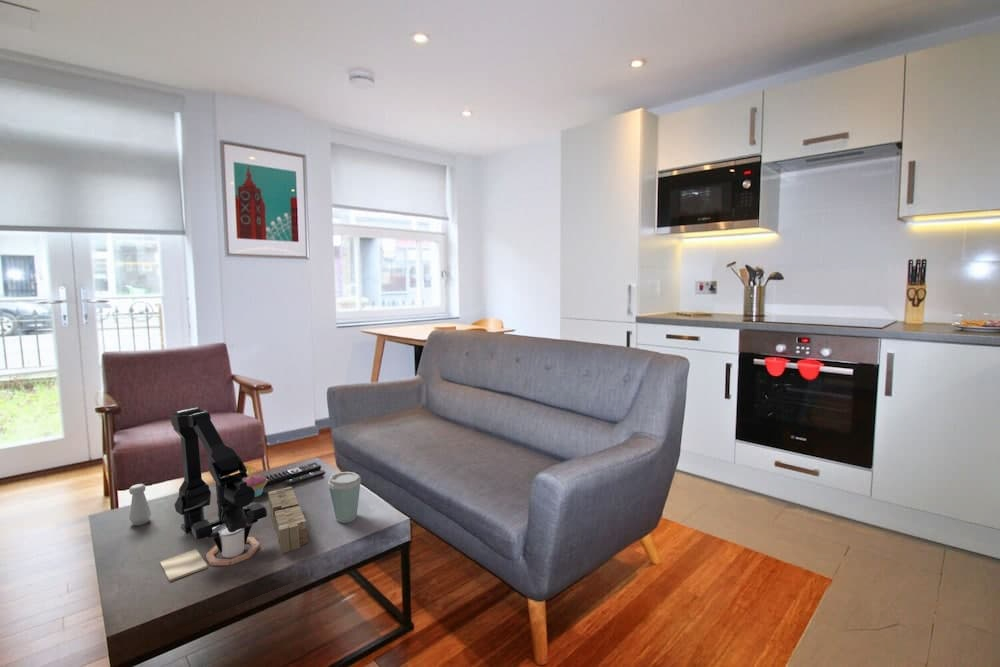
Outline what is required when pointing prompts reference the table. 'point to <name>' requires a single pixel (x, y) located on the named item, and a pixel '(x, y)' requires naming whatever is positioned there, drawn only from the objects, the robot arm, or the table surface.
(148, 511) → the salt shaker
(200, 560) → the beige flat pad
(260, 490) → the cupcake
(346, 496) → the disposable coffee cup
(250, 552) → the ring coaster
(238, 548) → the white cylinder
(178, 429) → the robot arm
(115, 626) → the table surface
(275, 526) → the block tower
